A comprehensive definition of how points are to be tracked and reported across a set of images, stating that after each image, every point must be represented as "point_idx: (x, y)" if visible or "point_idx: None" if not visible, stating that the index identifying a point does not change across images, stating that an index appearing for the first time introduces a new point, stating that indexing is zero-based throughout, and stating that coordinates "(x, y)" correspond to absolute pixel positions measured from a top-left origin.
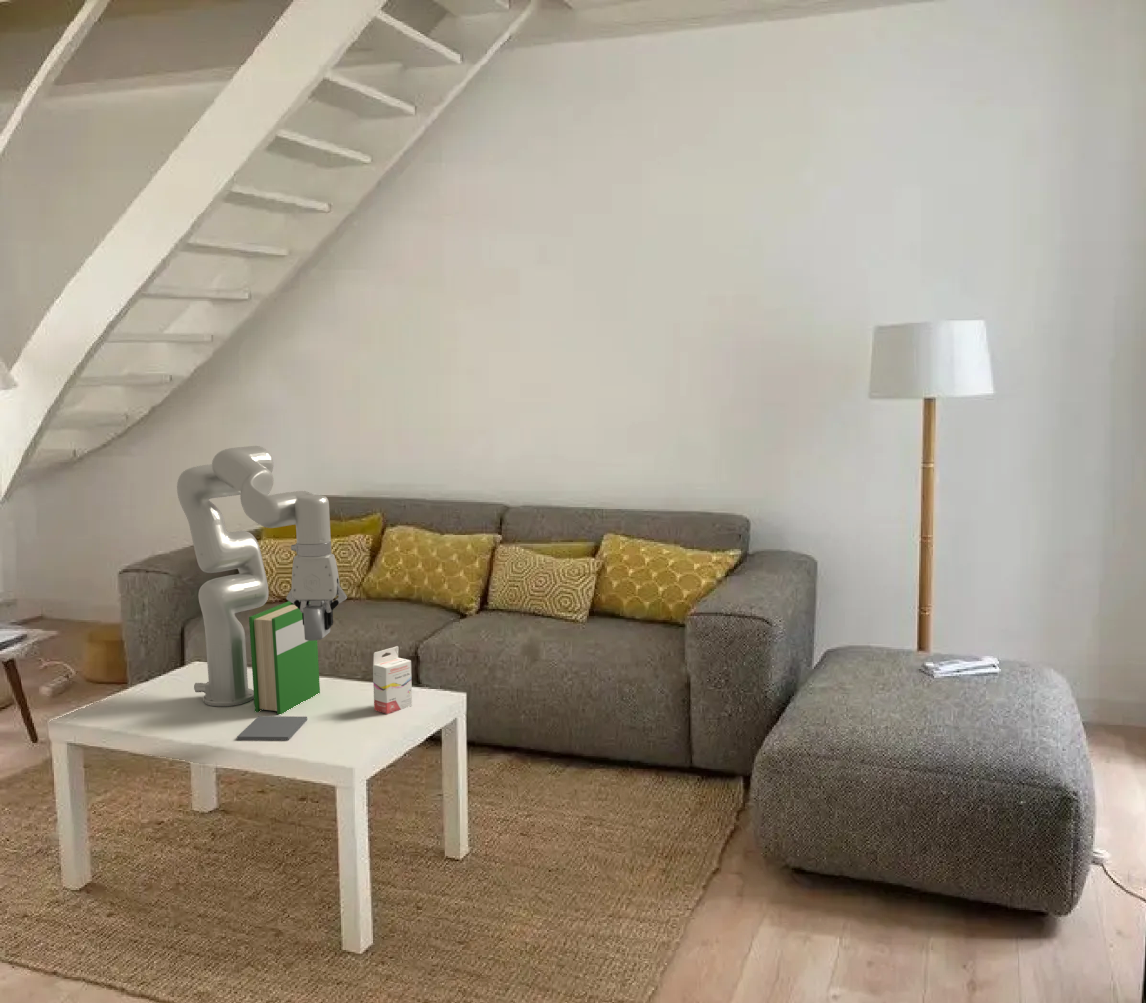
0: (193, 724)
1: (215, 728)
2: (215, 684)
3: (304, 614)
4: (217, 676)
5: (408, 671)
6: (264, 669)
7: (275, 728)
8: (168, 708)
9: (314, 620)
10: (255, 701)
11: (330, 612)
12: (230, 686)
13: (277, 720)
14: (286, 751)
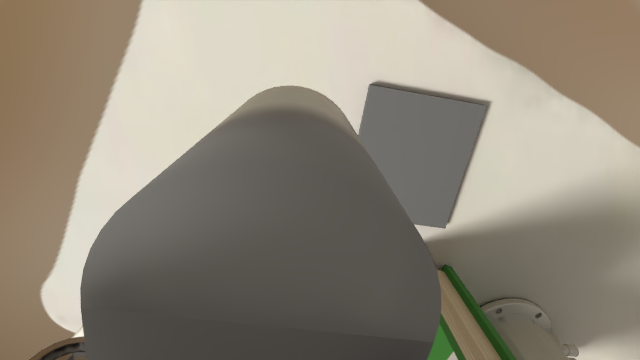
0: (569, 212)
1: (527, 184)
2: (551, 342)
3: (393, 192)
4: (559, 355)
5: None
6: (469, 332)
7: (404, 148)
8: (609, 301)
9: (238, 118)
10: (458, 279)
11: (79, 357)
12: (518, 336)
13: (404, 198)
14: (366, 5)
